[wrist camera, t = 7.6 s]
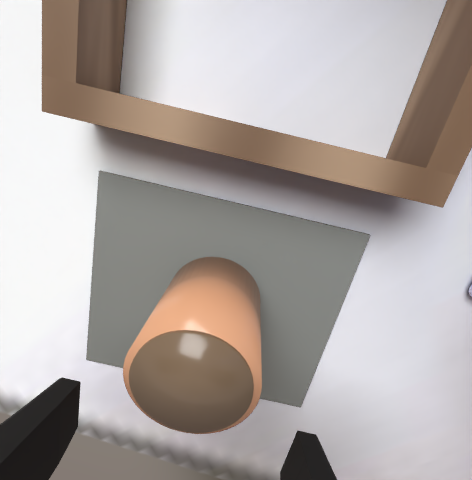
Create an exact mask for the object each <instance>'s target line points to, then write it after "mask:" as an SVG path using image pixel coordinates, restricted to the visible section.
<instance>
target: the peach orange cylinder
mask: <svg viewBox="0 0 472 480" xmlns="http://www.w3.org/2000/svg"><path fill="white" fill-rule="evenodd" d="M123 377H124V382H125V386H126V389H127V391H128V394H129V395H130V397H131V399H132V400H133V402H134V403H135V404H136V406H137V407H138V408H139V409H140V410H141V411H142V412H143V413H145V414H146V415H147V416H148V417H149V418H151V419H153V420H154V421H156V422H157V423H159V424H161V425H163V426H166V427H168V428H170V429H174V430H177V431H181V432H186V433H194V434H207V433H215V432H220V431H223V430H227V429H229V428H231V427H234V426H236V425H237V424H239V423H241V422H242V421H243V420H245V419H246V418H247V417H248V416H249V415H250V414H251V413H252V412H253V410H254V409H255V407H256V405H257V403H258V401H259V399H260V395H261V389H262V363H261V300H260V292H259V288H258V286H257V283H256V281H255V280H254V278H253V277H252V275H251V274H250V273H249V272H248V271H247V270H246V269H245V268H243V267H242V266H241V265H239V264H237V263H236V262H233V261H231V260H228V259H225V258H220V257H203V258H199V259H195V260H193V261H191V262H189V263H187V264H186V265H184V266H183V267H182V268H181V269H179V271H178V272H177V273H176V274H175V276H174V277H173V279H172V281H171V282H170V284H169V286H168V287H167V289H166V290H165V292H164V294H163V295H162V297H161V299H160V300H159V302H158V304H157V305H156V307H155V308H154V310H153V312H152V313H151V315H150V317H149V318H148V320H147V321H146V323H145V325H144V326H143V328H142V330H141V331H140V333H139V335H138V336H137V338H136V339H135V341H134V343H133V344H132V346H131V348H130V349H129V351H128V353H127V355H126V358H125V361H124V366H123Z"/></svg>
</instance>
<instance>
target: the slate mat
mask: <svg viewBox="0 0 472 480" xmlns="http://www.w3.org/2000/svg"><path fill="white" fill-rule="evenodd" d="M369 237H370V235H369V234H366V233H362V232H357V231H353V230H349V229H345V228H341V227H336V226H332V225H328V224H324V223H319V222H315V221H311V220H307V219H303V218H298V217H294V216H290V215H286V214H281V213H277V212H273V211H269V210H264V209H260V208H256V207H252V206H248V205H243V204H239V203H235V202H231V201H226V200H222V199H218V198H214V197H210V196H205V195H201V194H197V193H193V192H188V191H184V190H180V189H176V188H171V187H167V186H163V185H159V184H155V183H150V182H146V181H142V180H138V179H133V178H129V177H125V176H121V175H117V174H112V173H108V172H104V171H99V177H98V192H97V207H96V222H95V237H94V252H93V267H92V282H91V297H90V311H89V326H88V341H87V356H86V360H89V361H94V362H98V363H103V364H107V365H112V366H116V367H121V368H123V366H124V361H125V358H126V355H127V353H128V351H129V349H130V348H131V346H132V344H133V343H134V341H135V339H136V338H137V336H138V335H139V333H140V331H141V330H142V328H143V326H144V325H145V323H146V321H147V320H148V318H149V317H150V315H151V313H152V312H153V310H154V308H155V307H156V305H157V304H158V302H159V300H160V299H161V297H162V295H163V294H164V292H165V290H166V289H167V287H168V286H169V284H170V282H171V281H172V279H173V277H174V276H175V274H176V273H177V272H178V271H179V269H181V268H182V267H183V266H184V265H186V264H187V263H189V262H191V261H193V260H195V259H199V258H203V257H220V258H225V259H228V260H231V261H233V262H236V263H237V264H239V265H241V266H242V267H243V268H245V269H246V270H247V271H248V272H249V273H250V274H251V275H252V277H253V278H254V280H255V281H256V283H257V286H258V288H259V292H260V300H261V363H262V389H261V395H260V399H265V400H269V401H274V402H278V403H283V404H287V405H292V406H296V407H301V405H302V403H303V400H304V398H305V395H306V393H307V390H308V388H309V385H310V383H311V380H312V378H313V376H314V373H315V371H316V368H317V366H318V363H319V361H320V358H321V356H322V353H323V351H324V348H325V346H326V344H327V341H328V339H329V336H330V334H331V331H332V329H333V326H334V324H335V321H336V319H337V316H338V314H339V311H340V309H341V307H342V304H343V302H344V299H345V297H346V294H347V292H348V289H349V287H350V284H351V282H352V279H353V277H354V274H355V272H356V270H357V267H358V265H359V262H360V260H361V257H362V255H363V252H364V250H365V247H366V245H367V242H368V240H369Z"/></svg>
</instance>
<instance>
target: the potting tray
mask: <svg viewBox="0 0 472 480" xmlns="http://www.w3.org/2000/svg"><path fill="white" fill-rule="evenodd" d="M126 5H127V0H42V111H43V112H47V113H51V114H55V115H59V116H63V117H68V118H72V119H76V120H80V121H84V122H88V123H93V124H97V125H101V126H105V127H109V128H113V129H118V130H122V131H126V132H130V133H134V134H138V135H143V136H147V137H151V138H155V139H159V140H163V141H168V142H172V143H176V144H180V145H184V146H188V147H193V148H197V149H201V150H205V151H209V152H213V153H218V154H222V155H226V156H230V157H234V158H238V159H243V160H247V161H251V162H255V163H259V164H263V165H268V166H272V167H276V168H280V169H284V170H288V171H293V172H297V173H301V174H305V175H309V176H313V177H318V178H322V179H326V180H330V181H334V182H338V183H343V184H347V185H351V186H355V187H359V188H363V189H368V190H372V191H376V192H380V193H384V194H388V195H393V196H397V197H401V198H405V199H409V200H413V201H418V202H422V203H426V204H430V205H434V206H438V207H443V206H444V204H445V202H446V200H447V198H448V196H449V194H450V192H451V190H452V188H453V185H454V183H455V181H456V179H457V177H458V175H459V173H460V171H461V169H462V167H463V165H464V162H465V160H466V158H467V156H468V154H469V152H470V150H471V148H472V0H447V2H446V5H445V8H444V10H443V13H442V15H441V18H440V20H439V23H438V26H437V28H436V31H435V33H434V36H433V39H432V41H431V44H430V46H429V49H428V51H427V54H426V57H425V59H424V62H423V64H422V67H421V69H420V72H419V75H418V77H417V80H416V82H415V85H414V87H413V90H412V93H411V95H410V98H409V100H408V103H407V106H406V108H405V111H404V113H403V116H402V118H401V121H400V124H399V126H398V129H397V131H396V134H395V136H394V139H393V142H392V144H391V147H390V149H389V152H388V154H387V157H386V158H382V157H378V156H374V155H370V154H366V153H362V152H358V151H354V150H349V149H345V148H341V147H337V146H333V145H329V144H325V143H321V142H316V141H312V140H308V139H304V138H300V137H296V136H292V135H288V134H283V133H279V132H275V131H271V130H267V129H263V128H259V127H255V126H251V125H246V124H242V123H238V122H234V121H230V120H226V119H222V118H218V117H213V116H209V115H205V114H201V113H197V112H193V111H189V110H185V109H181V108H176V107H172V106H168V105H164V104H160V103H156V102H152V101H148V100H143V99H139V98H135V97H131V96H127V95H123V94H119V90H120V77H121V65H122V53H123V41H124V29H125V17H126Z"/></svg>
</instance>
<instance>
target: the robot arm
mask: <svg viewBox="0 0 472 480" xmlns="http://www.w3.org/2000/svg"><path fill="white" fill-rule="evenodd" d="M469 295H470V296H471V297H472V285H471V286H470V288H469ZM79 398H80V382H79V381H75V380H70V379H66V378H60V379H58V380H57V381H56V382H55V383H53V384H52V385H51V386H50V387H48V388H47V389H46V390H44V391H43V392H42V393H41V394H39V395H38V396H37V397H36V398H34V399H33V400H32V401H30V402H29V403H28V404H27V405H25V406H24V407H23V408H21V409H20V410H19V411H17V412H16V413H15V414H13V415H12V416H11V417H10V418H8V419H7V420H6V421H4V422H3V423H1V424H0V480H49V478H50V477H51V475H52V473H53V472H54V470H55V468H56V467H57V465H58V464H59V462H60V460H61V458H62V456H63V455H64V453H65V451H66V449H67V447H68V445H69V443H70V441H71V439H72V437H73V435H74V433H75V431H76V429H77V427H78V415H79ZM280 480H337V478H336V476H335V474H334V472H333V470H332V468H331V466H330V464H329V461H328V459H327V457H326V455H325V453H324V450H323V448H322V446H321V444H320V442H319V440H318V437H317V436H316V435H315V434H310V433H306V432H301V431H297V433H296V436H295V438H294V440H293V443H292V445H291V448H290V450H289V452H288V455H287V457H286V460H285V462H284V464H283V467H282V469H281V472H280Z"/></svg>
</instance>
